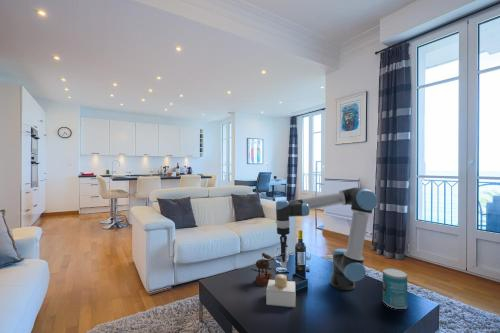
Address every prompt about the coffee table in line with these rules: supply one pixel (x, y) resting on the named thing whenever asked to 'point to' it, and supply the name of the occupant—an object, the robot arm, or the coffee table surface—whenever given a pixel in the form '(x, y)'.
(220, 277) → the coffee table surface
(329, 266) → the coffee table surface
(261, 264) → the brown tall irregular piece
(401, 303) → the food can
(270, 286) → the lid
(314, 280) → the coffee table surface
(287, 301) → the carton
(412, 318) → the coffee table surface
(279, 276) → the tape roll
